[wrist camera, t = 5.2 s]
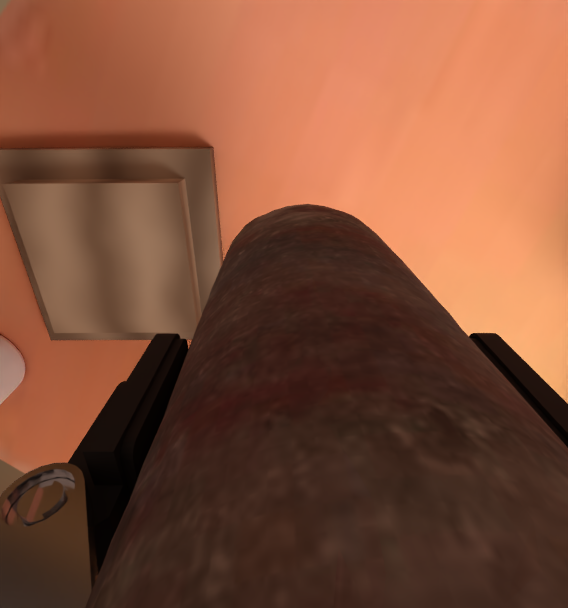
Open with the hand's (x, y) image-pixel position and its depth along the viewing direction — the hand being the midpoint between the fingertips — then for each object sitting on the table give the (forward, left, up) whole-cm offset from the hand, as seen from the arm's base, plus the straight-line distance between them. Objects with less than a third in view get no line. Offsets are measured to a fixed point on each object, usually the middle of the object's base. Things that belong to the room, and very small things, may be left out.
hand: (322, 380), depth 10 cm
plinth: (+14, +4, -22) cm, 26 cm away
